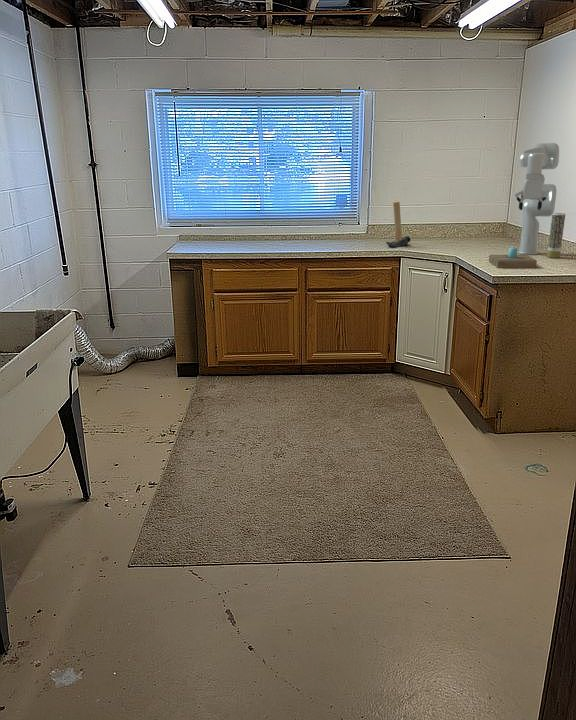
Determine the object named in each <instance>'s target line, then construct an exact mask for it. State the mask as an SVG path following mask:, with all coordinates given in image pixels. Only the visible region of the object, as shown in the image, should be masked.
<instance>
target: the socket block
mask: <svg viewBox="0 0 576 720" xmlns="http://www.w3.org/2000/svg"><path fill="white" fill-rule="evenodd" d="M488 255H489V256H488V262H489V264H491V265H493V266H494V267H495V266H496V267H495V268H497V269H511V268H512V269H536V268H537V262H538V260H537V259H535V258H533V257H531V256H530V255H527V254H517V258H508V254H488Z"/></svg>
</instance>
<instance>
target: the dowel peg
mask: <svg viewBox="0 0 576 720" xmlns="http://www.w3.org/2000/svg"><path fill="white" fill-rule="evenodd" d="M518 249H519V248H517V247H509V248H508V254H507V255H508V258H517V255H518V253H517V251H518Z"/></svg>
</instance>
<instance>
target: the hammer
mask: <svg viewBox="0 0 576 720" xmlns="http://www.w3.org/2000/svg"><path fill="white" fill-rule="evenodd" d="M392 204H393V207H392V208H393V219H394V220H393V222H394V232H395V233H394V235H395V239H394V240H393V241H391V242H389V241H386V242H385V243H386V245H387V246H388V247H390V248H400V247H404V246H407V245H408V244H409V243H410V241H411V238H410V236H409V235H408V236H405V237H403V235H402V232H403V231H402V223H401V220H402V219H401V208H400V207H401V205H400V204H401V203H400V201H399V200H398V201H397V200H396V201H393V202H392Z"/></svg>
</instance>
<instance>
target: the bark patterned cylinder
mask: <svg viewBox="0 0 576 720" xmlns="http://www.w3.org/2000/svg"><path fill="white" fill-rule="evenodd" d="M565 220H566V213H565V212H564V213H563V212H562V213H561V212H555V213H553V214H552V216H551V223H550V229H549V230H550V231H549V239H548V247H547V255H546V257H547V258H549V259H559V258H560V257H561V251H562V243H563V235H564V228H565Z"/></svg>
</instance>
